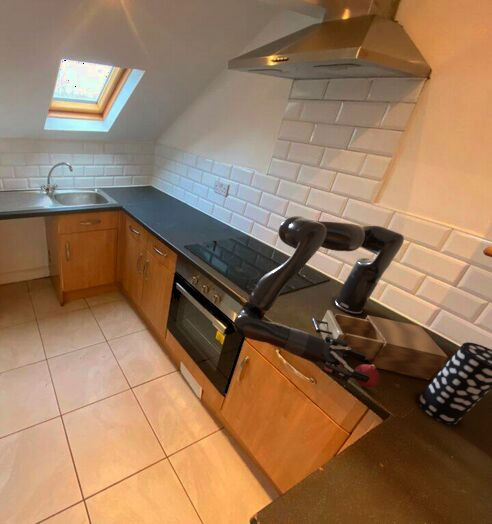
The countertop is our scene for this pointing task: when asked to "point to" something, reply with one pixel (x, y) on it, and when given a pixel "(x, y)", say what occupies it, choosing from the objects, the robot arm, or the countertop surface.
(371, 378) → the onion
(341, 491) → the countertop surface
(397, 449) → the countertop surface
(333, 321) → the drawer
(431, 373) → the cabinet
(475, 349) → the white-spotted black cylinder
